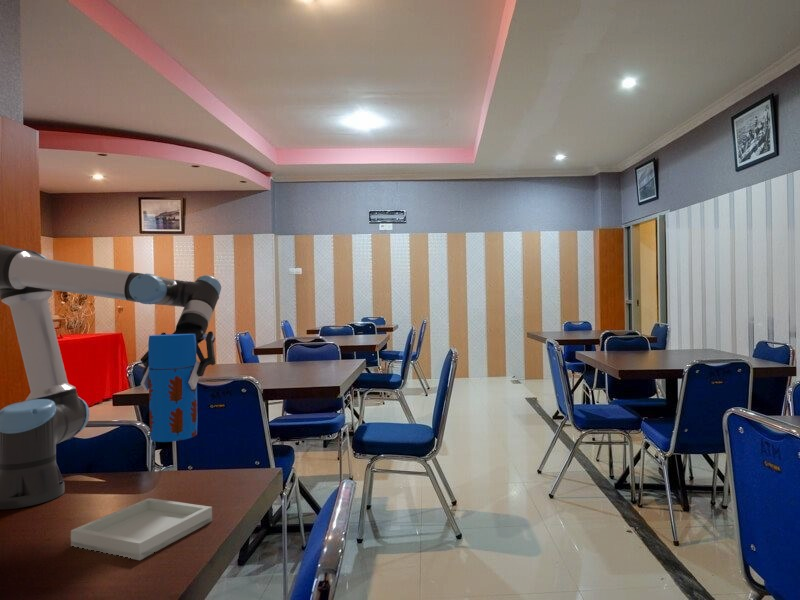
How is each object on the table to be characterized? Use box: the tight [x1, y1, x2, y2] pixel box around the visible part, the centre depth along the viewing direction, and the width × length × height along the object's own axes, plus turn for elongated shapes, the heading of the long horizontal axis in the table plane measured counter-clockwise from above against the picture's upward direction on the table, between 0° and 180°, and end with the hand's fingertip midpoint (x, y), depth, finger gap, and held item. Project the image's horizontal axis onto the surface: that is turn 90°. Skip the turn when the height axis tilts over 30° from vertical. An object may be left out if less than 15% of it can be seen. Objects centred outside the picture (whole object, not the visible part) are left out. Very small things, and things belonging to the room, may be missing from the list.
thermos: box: [147, 333, 198, 443], centre depth 124 cm, size 11×11×25 cm
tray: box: [70, 497, 213, 561], centre depth 102 cm, size 18×18×3 cm
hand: (167, 386), depth 121 cm, fingers closed on thermos, 11 cm apart
